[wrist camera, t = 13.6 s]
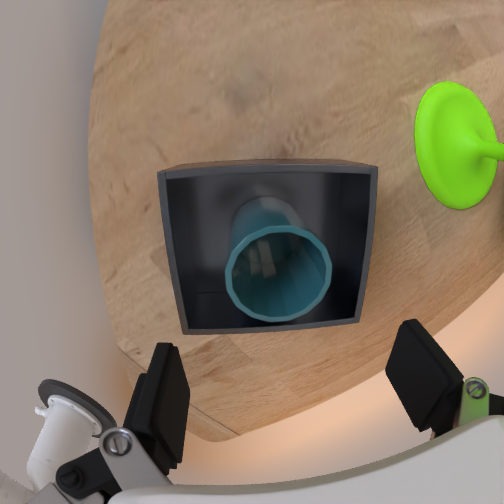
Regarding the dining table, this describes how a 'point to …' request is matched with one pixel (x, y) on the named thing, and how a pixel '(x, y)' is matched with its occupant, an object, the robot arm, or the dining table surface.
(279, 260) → the tumbler
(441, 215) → the dining table surface
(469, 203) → the wineglass
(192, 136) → the dining table surface
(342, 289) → the grey open box
